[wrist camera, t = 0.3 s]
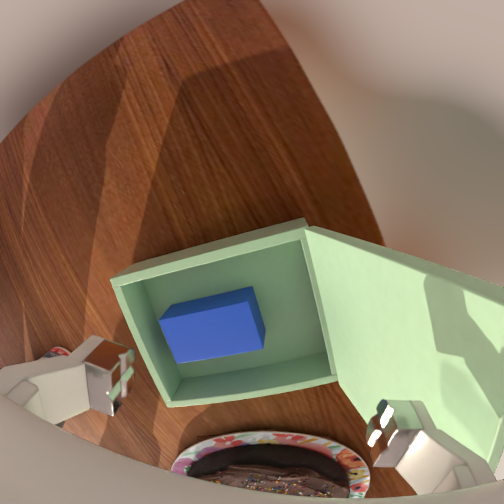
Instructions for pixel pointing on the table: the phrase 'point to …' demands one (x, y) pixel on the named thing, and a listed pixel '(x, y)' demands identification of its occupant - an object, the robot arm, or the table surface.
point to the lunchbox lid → (414, 336)
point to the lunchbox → (224, 280)
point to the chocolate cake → (277, 464)
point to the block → (214, 326)
